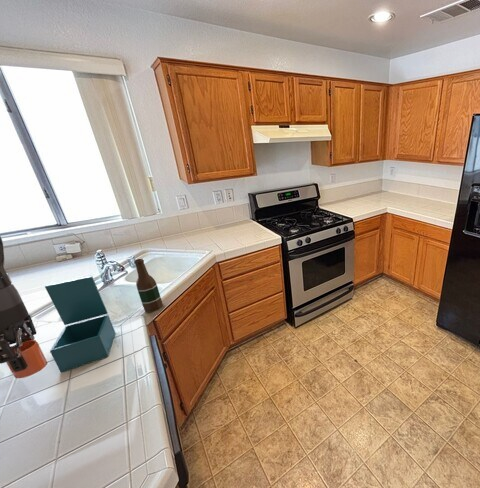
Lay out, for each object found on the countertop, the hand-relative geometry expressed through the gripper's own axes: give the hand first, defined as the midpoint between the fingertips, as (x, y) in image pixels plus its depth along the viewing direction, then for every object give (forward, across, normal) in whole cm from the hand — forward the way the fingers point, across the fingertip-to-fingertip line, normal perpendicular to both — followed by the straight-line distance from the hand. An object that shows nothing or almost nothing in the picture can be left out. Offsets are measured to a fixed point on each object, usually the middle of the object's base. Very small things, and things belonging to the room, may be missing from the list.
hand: (27, 361), depth 68 cm
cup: (+3, 0, 0) cm, 3 cm away
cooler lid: (-1, +30, -4) cm, 31 cm away
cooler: (+16, +24, -4) cm, 29 cm away
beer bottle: (+16, +45, -23) cm, 53 cm away
